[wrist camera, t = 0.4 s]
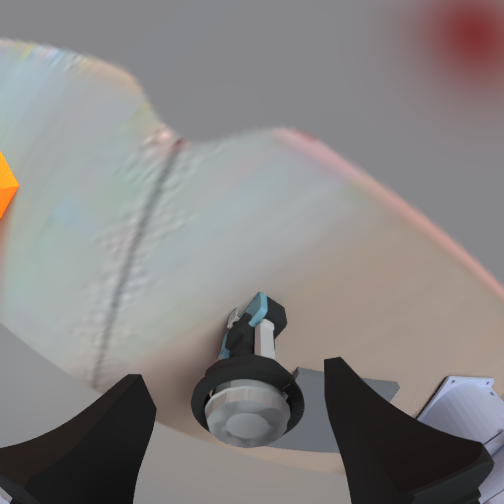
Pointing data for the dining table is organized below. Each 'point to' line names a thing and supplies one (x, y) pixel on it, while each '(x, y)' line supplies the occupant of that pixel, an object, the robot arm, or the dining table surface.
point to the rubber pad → (320, 414)
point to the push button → (249, 382)
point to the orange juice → (6, 185)
